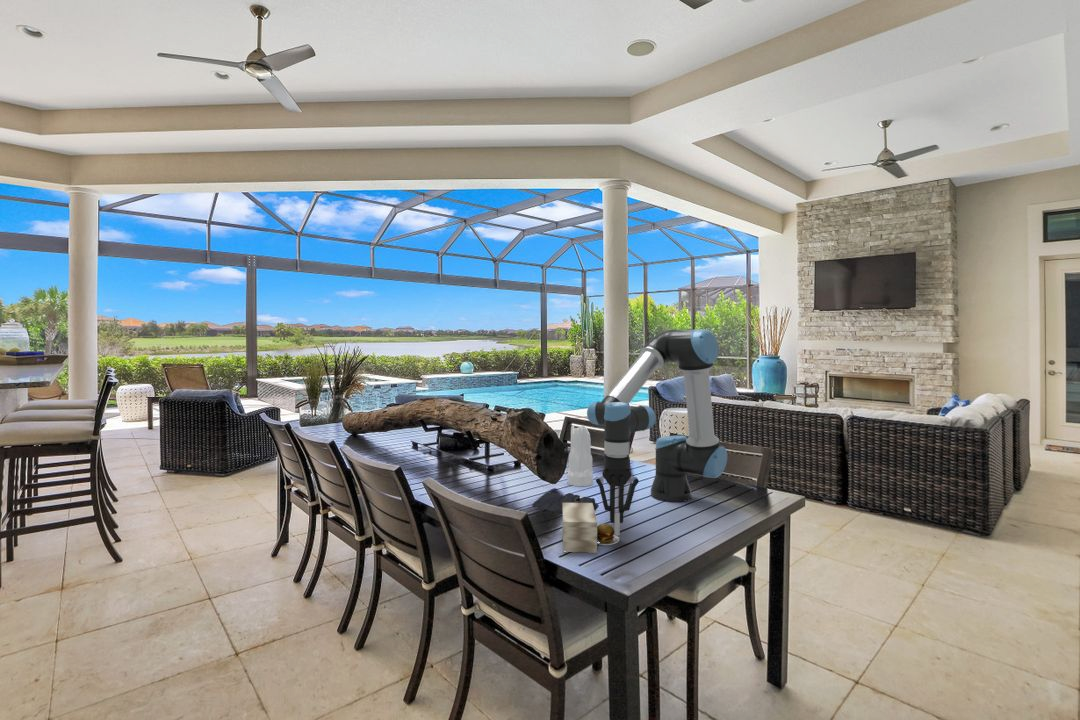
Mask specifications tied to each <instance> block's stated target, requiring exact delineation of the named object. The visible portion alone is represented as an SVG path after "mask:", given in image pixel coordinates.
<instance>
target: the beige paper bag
mask: <svg viewBox="0 0 1080 720" xmlns="http://www.w3.org/2000/svg"><path fill="white" fill-rule="evenodd" d="M595 511H596V510H595ZM595 511H594V507H593V503H562V514H561V515H562V520H561V521H562V523H561V525H562V527H561V529H562V530H561V531H562V549H563V551H566V552H565V553H568V552H588V553H587V554H596V553H598V544H597V527H598V520H597V515H596V512H595Z"/></svg>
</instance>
